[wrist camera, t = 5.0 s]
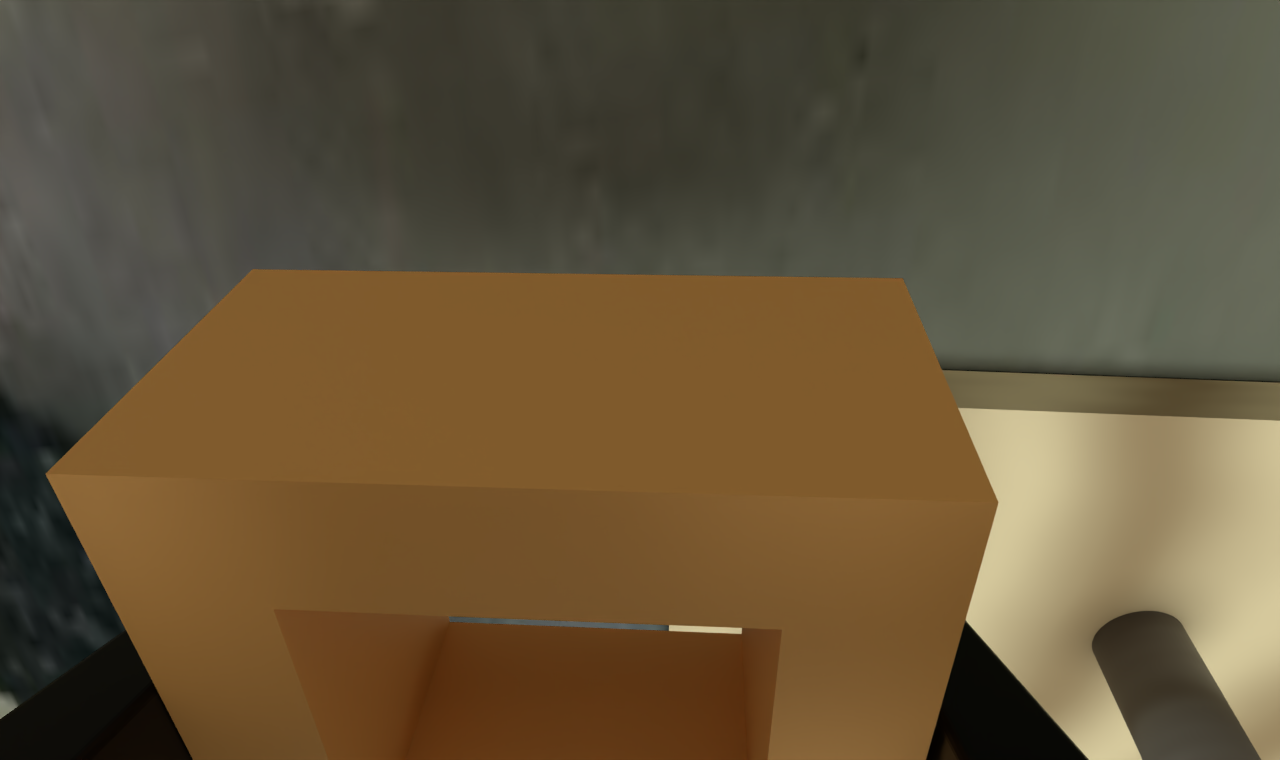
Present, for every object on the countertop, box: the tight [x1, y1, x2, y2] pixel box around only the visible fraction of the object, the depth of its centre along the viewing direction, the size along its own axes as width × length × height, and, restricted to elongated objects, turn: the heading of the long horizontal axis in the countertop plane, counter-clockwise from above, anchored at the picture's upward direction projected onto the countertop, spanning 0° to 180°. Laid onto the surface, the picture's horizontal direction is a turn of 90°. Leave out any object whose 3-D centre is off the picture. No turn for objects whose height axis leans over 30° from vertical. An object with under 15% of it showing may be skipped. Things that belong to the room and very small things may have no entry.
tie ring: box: [46, 269, 999, 760], centre depth 8 cm, size 6×6×3 cm
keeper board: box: [669, 370, 1280, 760], centre depth 20 cm, size 20×14×8 cm
